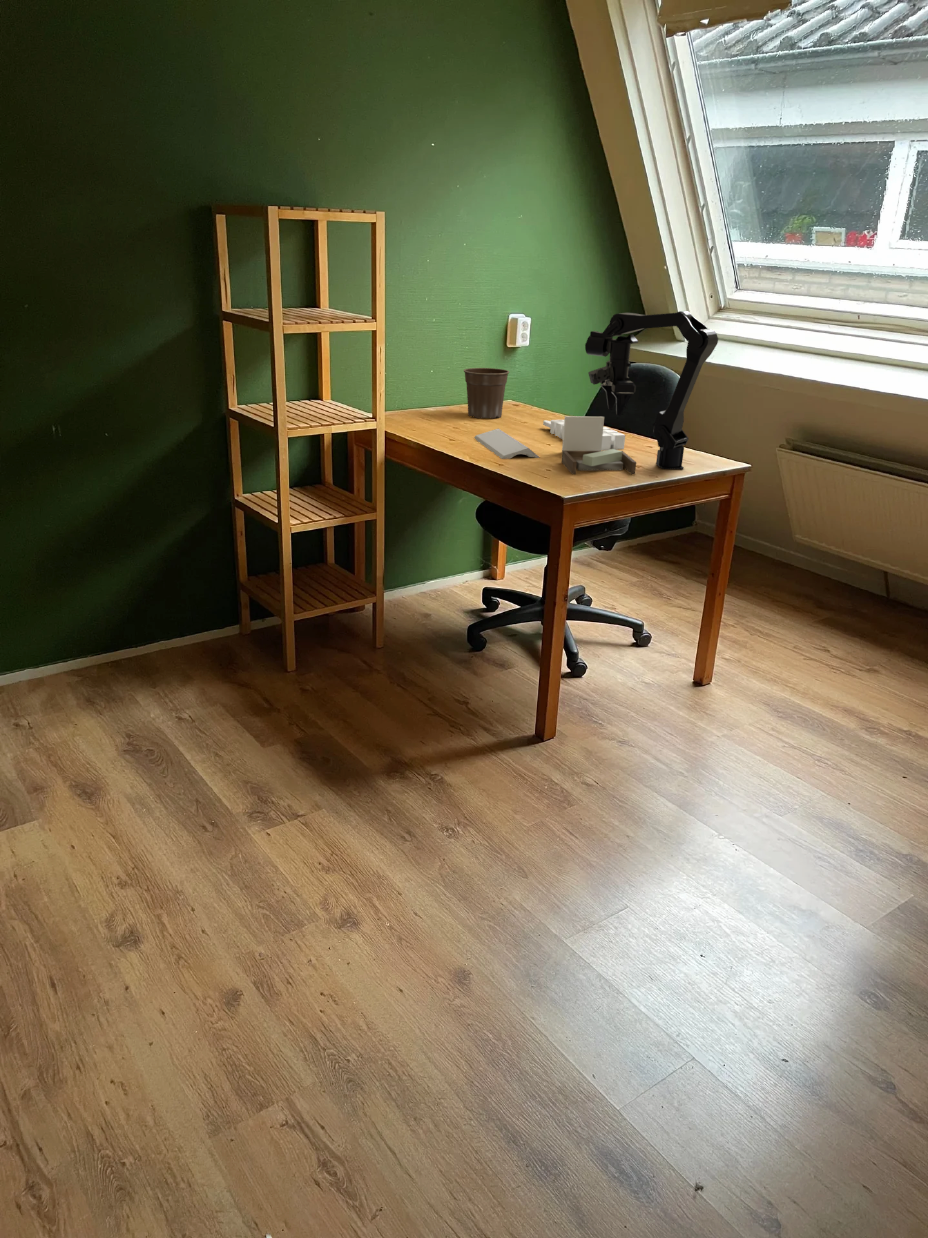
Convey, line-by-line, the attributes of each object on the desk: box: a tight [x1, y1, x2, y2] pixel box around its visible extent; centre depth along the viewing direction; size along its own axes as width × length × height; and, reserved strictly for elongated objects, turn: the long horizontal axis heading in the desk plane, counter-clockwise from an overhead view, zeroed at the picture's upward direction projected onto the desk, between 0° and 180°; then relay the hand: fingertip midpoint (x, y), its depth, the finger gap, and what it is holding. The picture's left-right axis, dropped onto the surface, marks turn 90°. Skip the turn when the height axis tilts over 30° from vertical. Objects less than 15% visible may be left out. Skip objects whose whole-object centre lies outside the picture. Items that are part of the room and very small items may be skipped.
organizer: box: [542, 419, 626, 451], centre depth 295 cm, size 13×5×35 cm
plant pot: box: [463, 367, 510, 419], centre depth 324 cm, size 16×16×16 cm
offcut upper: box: [582, 448, 623, 466], centre depth 257 cm, size 13×4×2 cm, turn 132°
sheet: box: [561, 415, 605, 451], centre depth 274 cm, size 12×1×11 cm, turn 96°
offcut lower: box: [576, 460, 624, 471], centre depth 258 cm, size 13×4×2 cm, turn 99°
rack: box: [561, 449, 637, 475], centre depth 258 cm, size 18×14×4 cm
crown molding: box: [473, 428, 541, 460], centre depth 279 cm, size 29×12×4 cm, turn 16°
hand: (614, 412), depth 269 cm, fingers open, 9 cm apart
